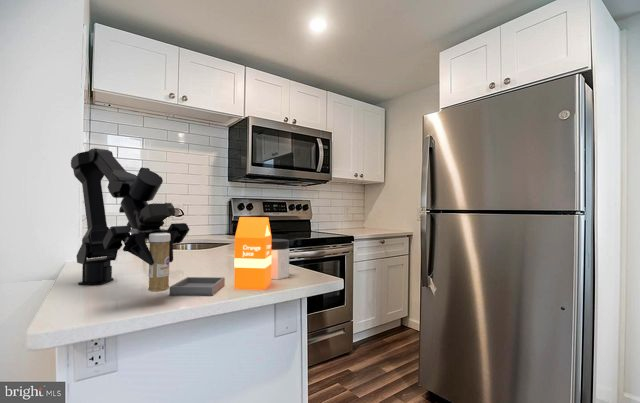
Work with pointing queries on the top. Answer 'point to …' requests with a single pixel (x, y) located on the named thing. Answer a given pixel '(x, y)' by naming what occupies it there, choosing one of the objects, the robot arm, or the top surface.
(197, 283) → the tray
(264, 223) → the orange juice
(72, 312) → the top surface
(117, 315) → the top surface
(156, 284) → the spice shaker
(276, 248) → the jar
